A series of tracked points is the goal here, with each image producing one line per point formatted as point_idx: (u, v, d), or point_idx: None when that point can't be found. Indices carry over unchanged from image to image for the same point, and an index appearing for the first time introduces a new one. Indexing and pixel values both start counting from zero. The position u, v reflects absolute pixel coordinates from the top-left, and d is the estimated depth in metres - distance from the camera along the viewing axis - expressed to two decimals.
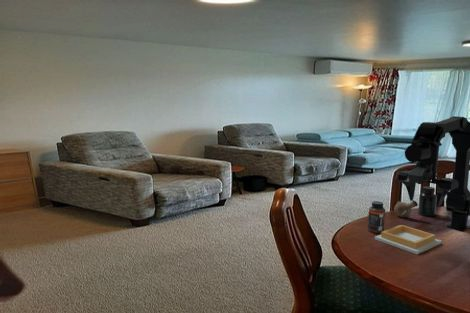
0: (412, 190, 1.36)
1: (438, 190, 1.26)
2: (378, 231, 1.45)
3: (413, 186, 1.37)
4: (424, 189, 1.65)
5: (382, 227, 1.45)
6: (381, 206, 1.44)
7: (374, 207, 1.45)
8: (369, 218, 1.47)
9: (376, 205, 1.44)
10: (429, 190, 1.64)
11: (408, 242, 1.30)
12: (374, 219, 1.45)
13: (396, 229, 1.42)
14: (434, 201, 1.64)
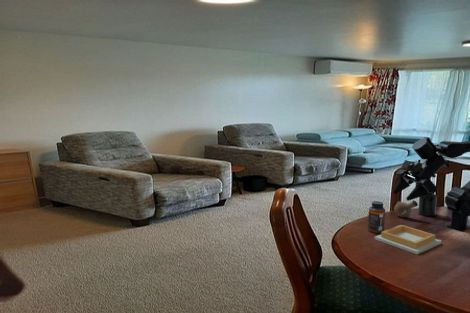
0: (400, 186, 1.51)
1: (416, 183, 1.40)
2: (378, 231, 1.45)
3: (404, 185, 1.51)
4: None
5: (382, 227, 1.45)
6: (381, 206, 1.44)
7: (374, 207, 1.45)
8: (369, 218, 1.47)
9: (376, 205, 1.44)
10: None
11: (408, 242, 1.30)
12: (374, 219, 1.45)
13: (396, 229, 1.42)
14: (434, 201, 1.64)
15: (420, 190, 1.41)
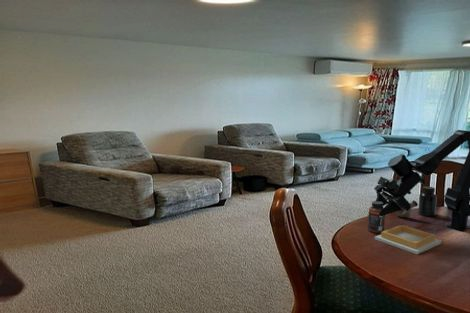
0: None
1: (389, 200, 1.42)
2: (378, 231, 1.45)
3: None
4: (424, 189, 1.65)
5: (382, 227, 1.45)
6: (381, 206, 1.44)
7: (374, 207, 1.45)
8: (369, 218, 1.47)
9: (376, 205, 1.44)
10: (429, 190, 1.64)
11: (408, 242, 1.30)
12: (374, 219, 1.45)
13: (396, 229, 1.42)
14: (434, 201, 1.64)
15: (393, 206, 1.42)
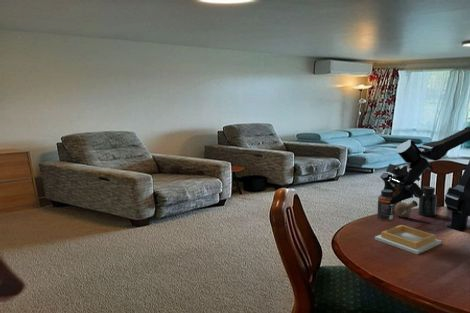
0: None
1: (399, 187, 1.38)
2: (389, 220, 1.41)
3: None
4: (424, 189, 1.65)
5: (393, 216, 1.41)
6: (391, 194, 1.40)
7: (384, 196, 1.41)
8: (379, 207, 1.42)
9: (387, 193, 1.40)
10: (429, 190, 1.64)
11: (408, 242, 1.30)
12: (384, 208, 1.40)
13: (396, 229, 1.42)
14: (434, 201, 1.64)
15: (403, 193, 1.39)
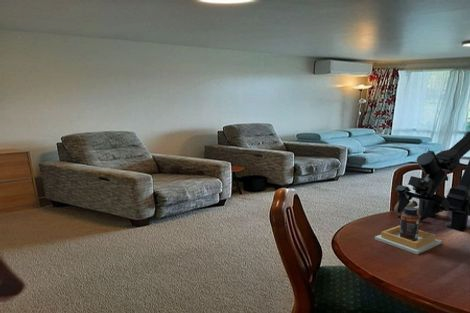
0: (403, 204, 1.41)
1: (429, 201, 1.31)
2: (415, 239, 1.34)
3: (405, 202, 1.41)
4: None
5: (417, 234, 1.35)
6: (416, 212, 1.34)
7: (410, 214, 1.34)
8: (404, 226, 1.35)
9: (412, 211, 1.34)
10: None
11: (408, 242, 1.30)
12: (410, 227, 1.34)
13: (396, 229, 1.42)
14: None
15: (432, 208, 1.32)
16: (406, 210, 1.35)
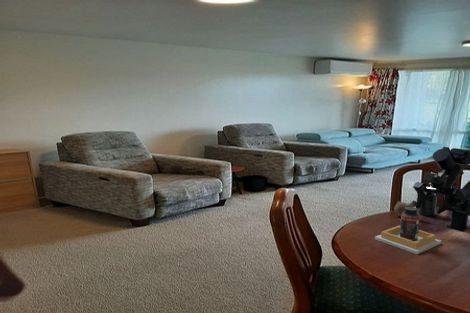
0: (421, 200, 1.45)
1: (445, 195, 1.36)
2: (415, 239, 1.34)
3: (424, 198, 1.46)
4: None
5: (417, 234, 1.35)
6: (416, 212, 1.34)
7: (410, 214, 1.34)
8: (404, 226, 1.35)
9: (412, 211, 1.34)
10: None
11: (408, 242, 1.30)
12: (411, 227, 1.34)
13: (396, 229, 1.42)
14: (434, 201, 1.64)
15: (449, 201, 1.36)
16: (406, 210, 1.35)
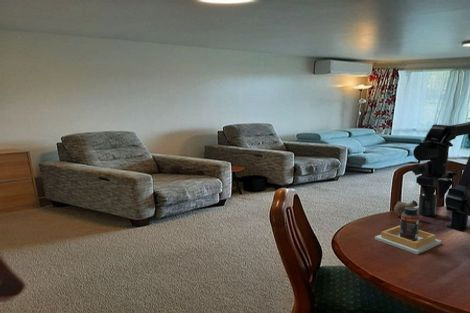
0: (442, 188, 1.45)
1: None
2: (415, 239, 1.34)
3: (445, 185, 1.44)
4: None
5: (417, 234, 1.35)
6: (416, 212, 1.34)
7: (410, 214, 1.34)
8: (404, 226, 1.35)
9: (412, 211, 1.34)
10: None
11: (408, 242, 1.30)
12: (411, 227, 1.34)
13: (396, 229, 1.42)
14: (434, 201, 1.64)
15: (429, 187, 1.39)
16: (406, 210, 1.35)
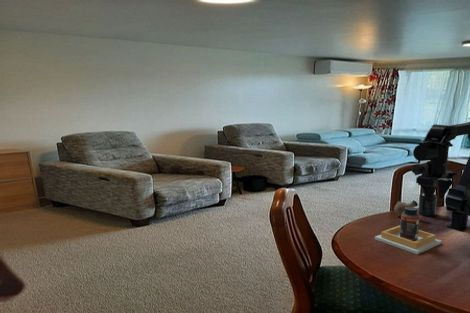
0: (442, 188, 1.45)
1: None
2: (415, 239, 1.34)
3: (445, 185, 1.44)
4: None
5: (417, 235, 1.35)
6: (416, 212, 1.34)
7: (410, 214, 1.34)
8: (404, 226, 1.35)
9: (412, 211, 1.34)
10: None
11: (408, 242, 1.30)
12: (411, 227, 1.34)
13: (396, 229, 1.42)
14: (434, 201, 1.64)
15: (429, 187, 1.39)
16: (406, 210, 1.35)
